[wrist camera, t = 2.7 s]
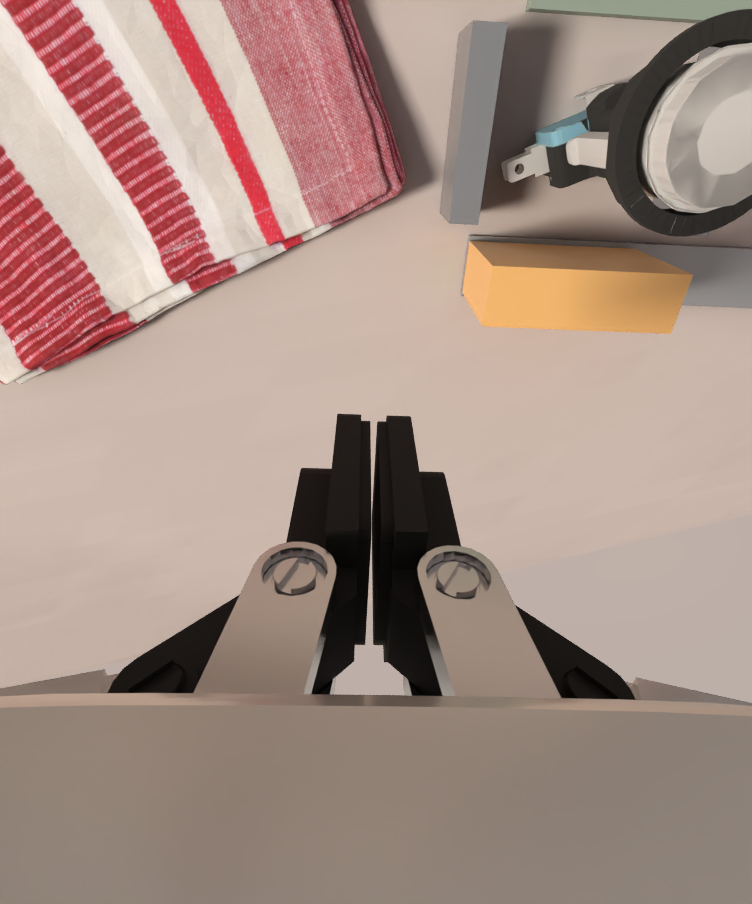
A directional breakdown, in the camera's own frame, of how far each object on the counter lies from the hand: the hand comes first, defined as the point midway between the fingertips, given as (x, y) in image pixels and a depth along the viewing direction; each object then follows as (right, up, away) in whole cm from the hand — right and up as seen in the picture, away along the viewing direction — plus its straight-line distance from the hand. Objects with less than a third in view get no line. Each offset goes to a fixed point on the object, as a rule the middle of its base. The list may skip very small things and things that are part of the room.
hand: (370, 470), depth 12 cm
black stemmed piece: (+9, +14, +10) cm, 19 cm away
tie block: (+8, +9, +13) cm, 18 cm away
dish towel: (-12, +15, +10) cm, 22 cm away
